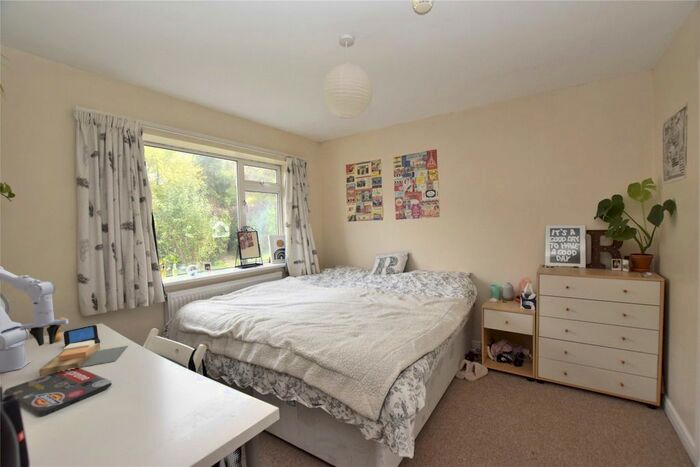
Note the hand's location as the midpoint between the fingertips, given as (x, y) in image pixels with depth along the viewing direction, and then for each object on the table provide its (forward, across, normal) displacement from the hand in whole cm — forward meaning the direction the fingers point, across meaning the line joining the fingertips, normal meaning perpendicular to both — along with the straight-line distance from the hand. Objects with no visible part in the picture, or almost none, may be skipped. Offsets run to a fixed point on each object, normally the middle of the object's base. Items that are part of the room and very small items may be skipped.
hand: (46, 344), depth 126 cm
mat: (+9, +19, 0) cm, 21 cm away
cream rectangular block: (+7, +7, +9) cm, 13 cm away
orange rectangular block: (+7, +9, 0) cm, 11 cm away
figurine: (+10, -11, +36) cm, 39 cm away
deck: (+9, +7, +2) cm, 12 cm away
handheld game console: (+10, +3, +23) cm, 25 cm away
